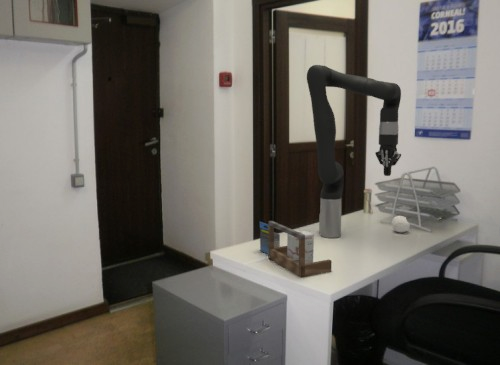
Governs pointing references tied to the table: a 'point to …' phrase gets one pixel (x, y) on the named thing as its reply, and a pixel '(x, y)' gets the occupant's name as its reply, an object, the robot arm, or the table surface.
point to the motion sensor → (400, 224)
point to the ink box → (294, 247)
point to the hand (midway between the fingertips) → (387, 175)
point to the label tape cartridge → (267, 238)
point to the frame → (299, 267)
